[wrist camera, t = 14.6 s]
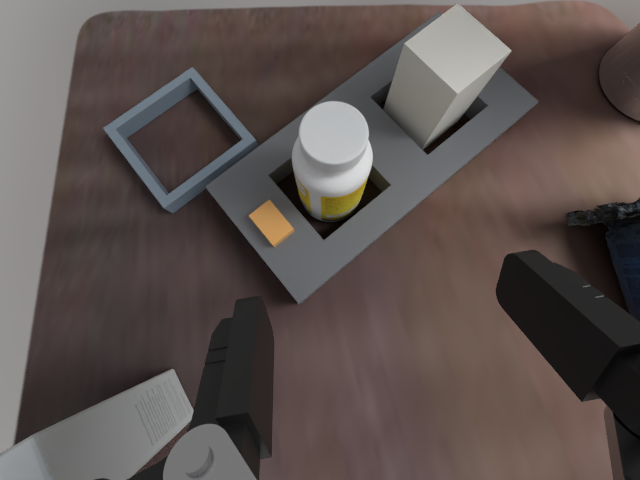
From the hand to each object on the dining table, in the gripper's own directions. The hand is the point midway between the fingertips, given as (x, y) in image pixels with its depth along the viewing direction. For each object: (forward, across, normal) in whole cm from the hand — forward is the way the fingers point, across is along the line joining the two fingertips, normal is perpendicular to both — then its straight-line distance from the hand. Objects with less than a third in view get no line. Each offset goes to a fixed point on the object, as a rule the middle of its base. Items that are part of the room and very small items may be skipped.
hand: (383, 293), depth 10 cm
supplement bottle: (+17, 0, +4) cm, 18 cm away
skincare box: (+6, +16, +15) cm, 23 cm away
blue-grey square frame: (+22, +12, -1) cm, 25 cm away
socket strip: (+19, -4, +2) cm, 20 cm away
